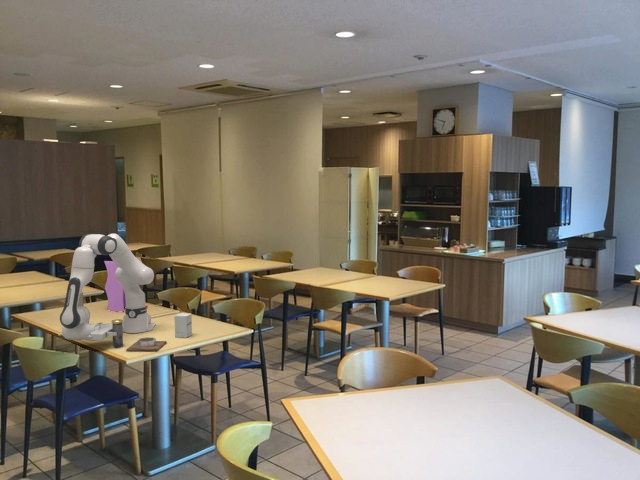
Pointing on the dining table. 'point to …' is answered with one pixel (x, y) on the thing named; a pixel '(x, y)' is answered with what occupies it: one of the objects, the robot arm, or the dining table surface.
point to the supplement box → (183, 325)
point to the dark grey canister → (119, 329)
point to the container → (114, 289)
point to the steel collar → (146, 342)
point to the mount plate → (146, 349)
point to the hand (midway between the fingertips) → (119, 332)
